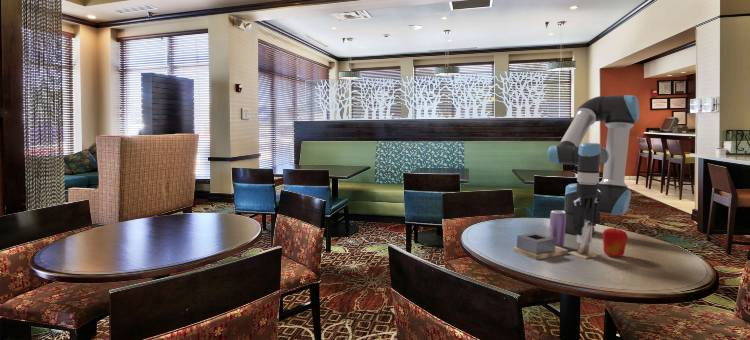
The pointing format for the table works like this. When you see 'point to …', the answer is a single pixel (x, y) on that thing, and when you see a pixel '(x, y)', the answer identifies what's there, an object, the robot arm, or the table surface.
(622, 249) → the apple
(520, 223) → the table surface
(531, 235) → the socket block
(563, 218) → the beverage can
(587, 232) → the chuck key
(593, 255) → the cork coaster
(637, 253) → the table surface
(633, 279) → the table surface
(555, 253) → the oak board
